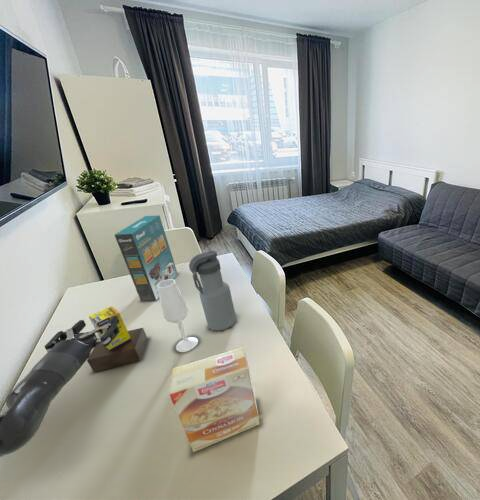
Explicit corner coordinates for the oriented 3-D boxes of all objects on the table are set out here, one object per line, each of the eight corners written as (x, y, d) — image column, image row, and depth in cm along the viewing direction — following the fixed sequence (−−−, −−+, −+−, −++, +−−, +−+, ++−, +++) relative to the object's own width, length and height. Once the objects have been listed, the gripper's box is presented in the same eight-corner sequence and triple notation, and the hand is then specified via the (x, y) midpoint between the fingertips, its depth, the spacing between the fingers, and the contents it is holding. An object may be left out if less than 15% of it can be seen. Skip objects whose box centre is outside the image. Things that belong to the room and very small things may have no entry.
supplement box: (132, 339, 85) (119, 312, 80) (110, 352, 81) (95, 323, 76) (124, 332, 88) (111, 305, 83) (102, 344, 84) (87, 316, 79)
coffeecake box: (192, 453, 60) (167, 395, 51) (193, 423, 66) (171, 367, 57) (260, 425, 65) (248, 368, 57) (256, 400, 71) (244, 344, 63)
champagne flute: (191, 334, 94) (172, 275, 83) (202, 342, 90) (183, 281, 80) (171, 346, 89) (148, 285, 79) (182, 355, 85) (159, 292, 75)
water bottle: (212, 336, 93) (192, 265, 81) (203, 322, 99) (183, 254, 87) (240, 323, 99) (226, 254, 87) (230, 310, 105) (215, 245, 93)
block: (93, 372, 80) (86, 360, 78) (105, 348, 89) (99, 337, 86) (140, 360, 84) (134, 348, 82) (147, 338, 92) (143, 327, 90)
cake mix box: (164, 274, 132) (145, 216, 119) (177, 273, 132) (159, 215, 119) (141, 301, 112) (114, 234, 99) (156, 300, 113) (131, 233, 100)
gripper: (87, 348, 63) (122, 306, 77) (16, 358, 61) (65, 313, 75) (100, 371, 66) (131, 326, 81) (32, 381, 64) (77, 333, 78)
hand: (99, 320), depth 78 cm, fingers open, 8 cm apart
